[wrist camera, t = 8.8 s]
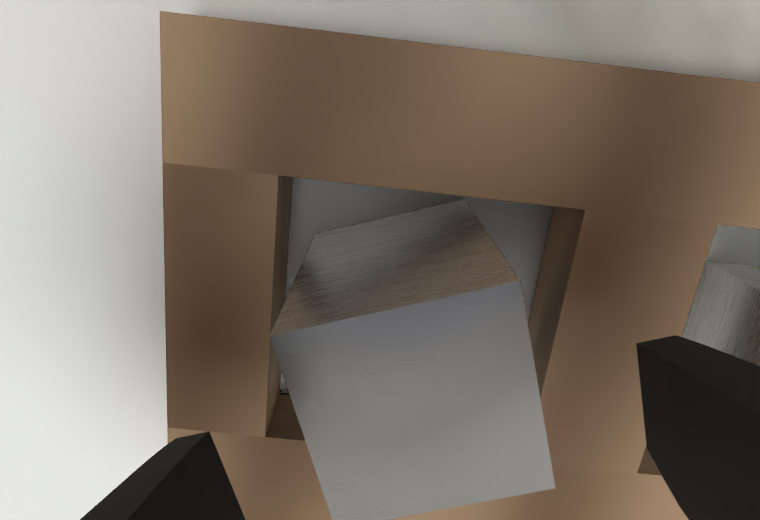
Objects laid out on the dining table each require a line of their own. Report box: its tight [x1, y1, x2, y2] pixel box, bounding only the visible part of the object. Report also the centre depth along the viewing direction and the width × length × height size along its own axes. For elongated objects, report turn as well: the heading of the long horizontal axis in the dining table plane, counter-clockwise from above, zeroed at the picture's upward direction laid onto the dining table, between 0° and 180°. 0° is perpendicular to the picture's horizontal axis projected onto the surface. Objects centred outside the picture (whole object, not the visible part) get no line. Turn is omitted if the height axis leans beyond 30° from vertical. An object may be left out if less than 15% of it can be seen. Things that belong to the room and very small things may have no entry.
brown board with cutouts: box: [160, 11, 760, 520], centre depth 14 cm, size 22×13×2 cm, turn 84°
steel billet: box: [270, 199, 555, 520], centre depth 12 cm, size 4×4×6 cm
